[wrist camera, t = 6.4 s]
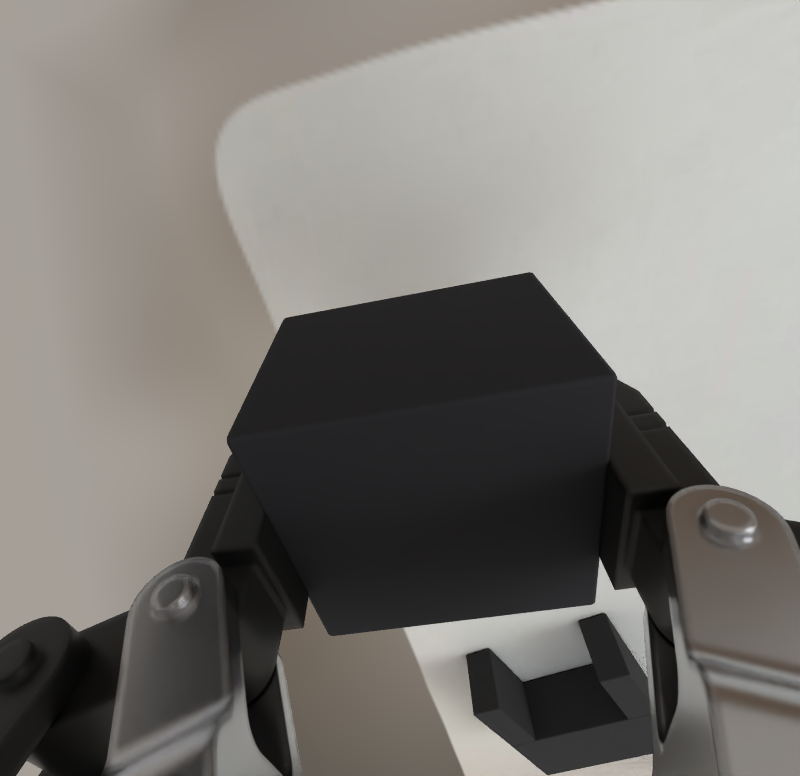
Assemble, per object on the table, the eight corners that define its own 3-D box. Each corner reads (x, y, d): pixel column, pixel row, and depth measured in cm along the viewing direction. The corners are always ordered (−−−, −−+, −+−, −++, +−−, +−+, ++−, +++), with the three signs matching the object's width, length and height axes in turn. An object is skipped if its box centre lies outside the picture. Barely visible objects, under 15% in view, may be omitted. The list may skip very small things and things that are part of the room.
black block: (345, 489, 12) (328, 638, 9) (282, 316, 9) (221, 440, 6) (536, 460, 12) (596, 606, 8) (532, 270, 9) (620, 375, 5)
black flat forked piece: (465, 655, 34) (473, 715, 31) (605, 612, 31) (630, 674, 28) (534, 719, 41) (547, 775, 37) (655, 690, 37) (681, 748, 34)
